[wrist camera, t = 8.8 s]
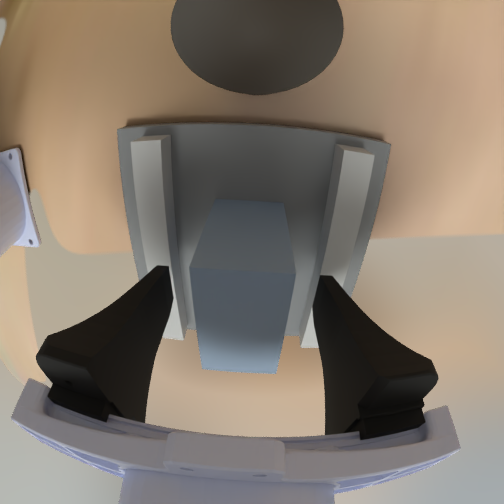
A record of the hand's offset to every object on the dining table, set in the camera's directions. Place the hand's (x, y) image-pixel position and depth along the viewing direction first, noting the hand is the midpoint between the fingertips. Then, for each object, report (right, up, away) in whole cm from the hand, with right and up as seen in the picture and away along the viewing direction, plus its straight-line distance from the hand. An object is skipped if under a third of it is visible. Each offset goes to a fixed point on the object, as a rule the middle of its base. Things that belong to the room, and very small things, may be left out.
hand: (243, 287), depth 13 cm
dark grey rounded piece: (+1, +11, -2) cm, 12 cm away
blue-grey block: (0, +2, +3) cm, 3 cm away
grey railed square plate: (0, +2, +3) cm, 4 cm away
